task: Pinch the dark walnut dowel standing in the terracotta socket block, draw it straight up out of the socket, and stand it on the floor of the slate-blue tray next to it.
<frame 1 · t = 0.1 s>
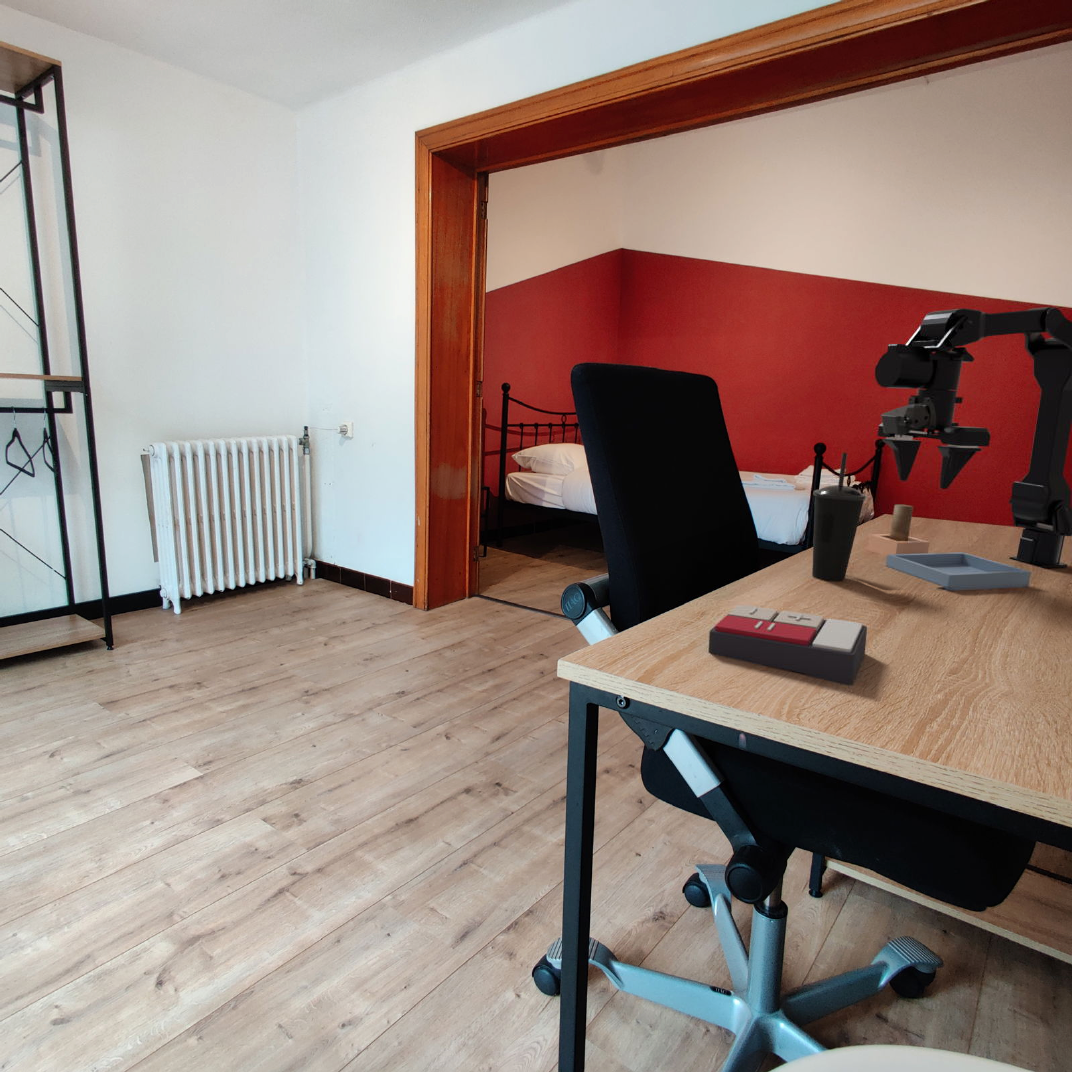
hand: (922, 484, 118), 15 cm above the table, fingers open, 9 cm apart
walnut dowel: (896, 554, 129), resting on terracotta socket
slate tray: (954, 577, 116), on the table
calculator: (786, 658, 80), on the table
drinking cup: (828, 578, 113), on the table
terracotta socket: (896, 556, 129), on the table
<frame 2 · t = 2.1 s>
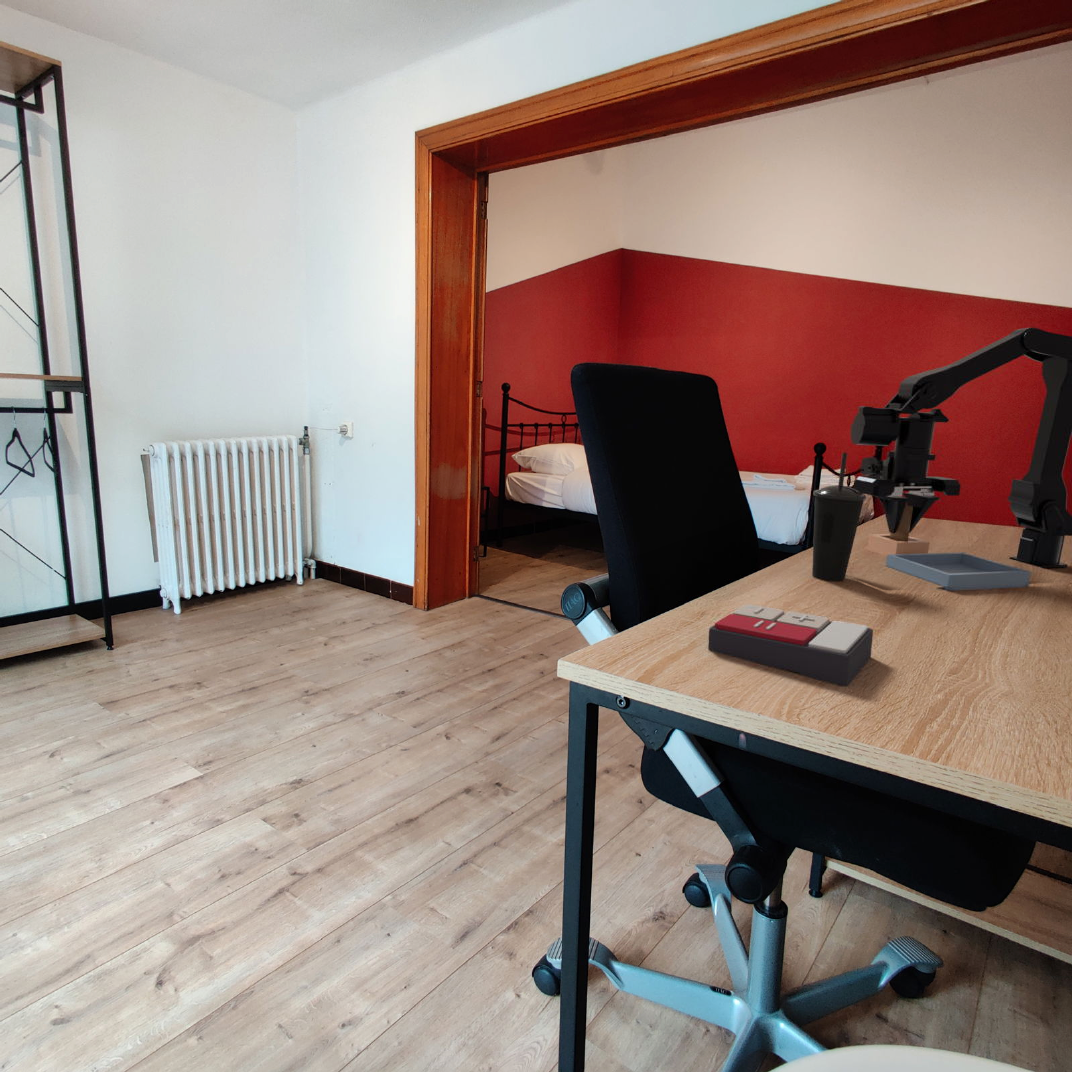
hand: (899, 532, 128), 5 cm above the table, fingers closed on walnut dowel, 3 cm apart
walnut dowel: (896, 554, 129), point 1 cm above the table, touching gripper, terracotta socket
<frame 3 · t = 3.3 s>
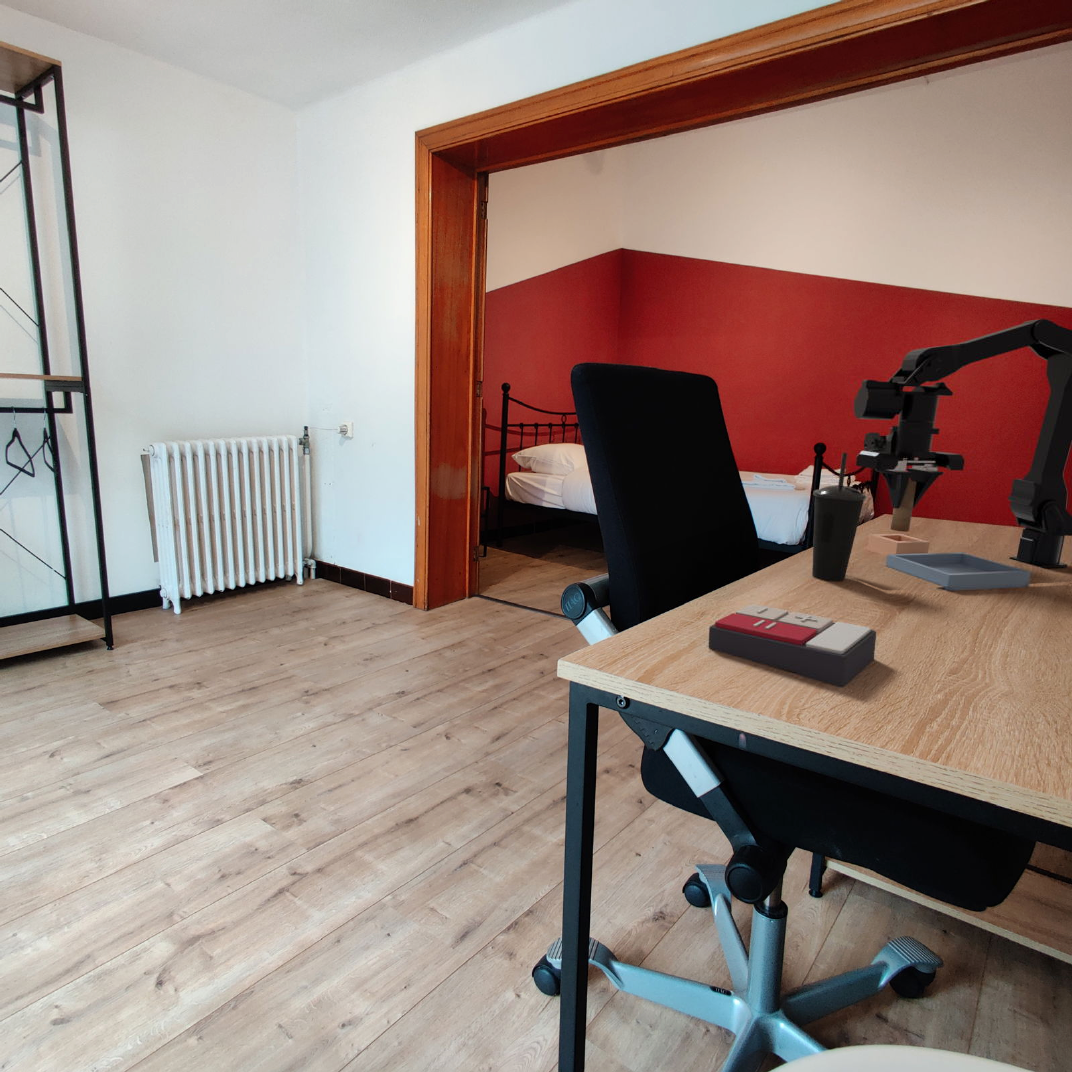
hand: (903, 508, 127), 9 cm above the table, fingers closed on walnut dowel, 3 cm apart
walnut dowel: (899, 529, 128), point 5 cm above the table, touching gripper
everything else where it was.
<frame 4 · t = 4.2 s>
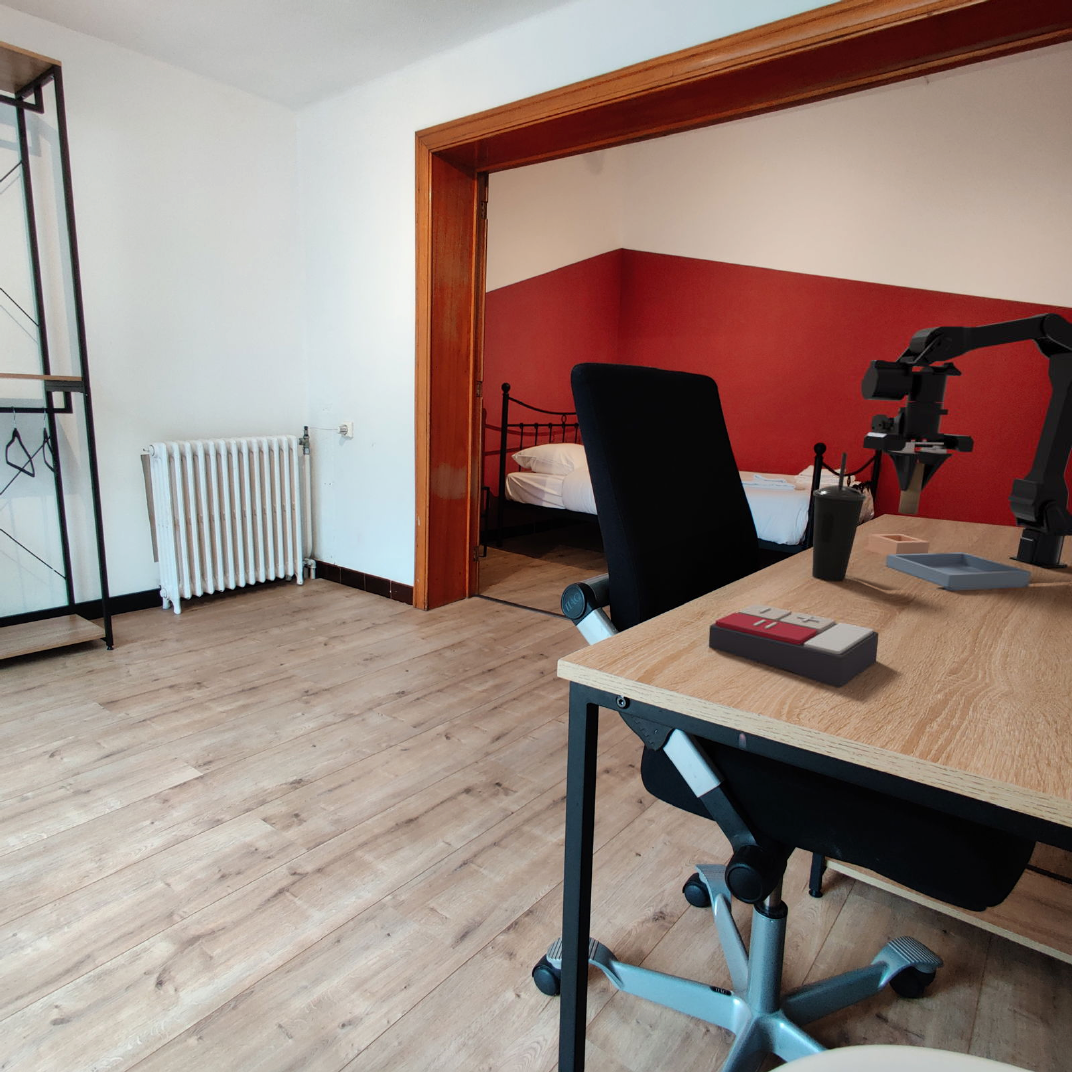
hand: (911, 490, 125), 12 cm above the table, fingers closed on walnut dowel, 3 cm apart
walnut dowel: (907, 512, 126), point 8 cm above the table, touching gripper
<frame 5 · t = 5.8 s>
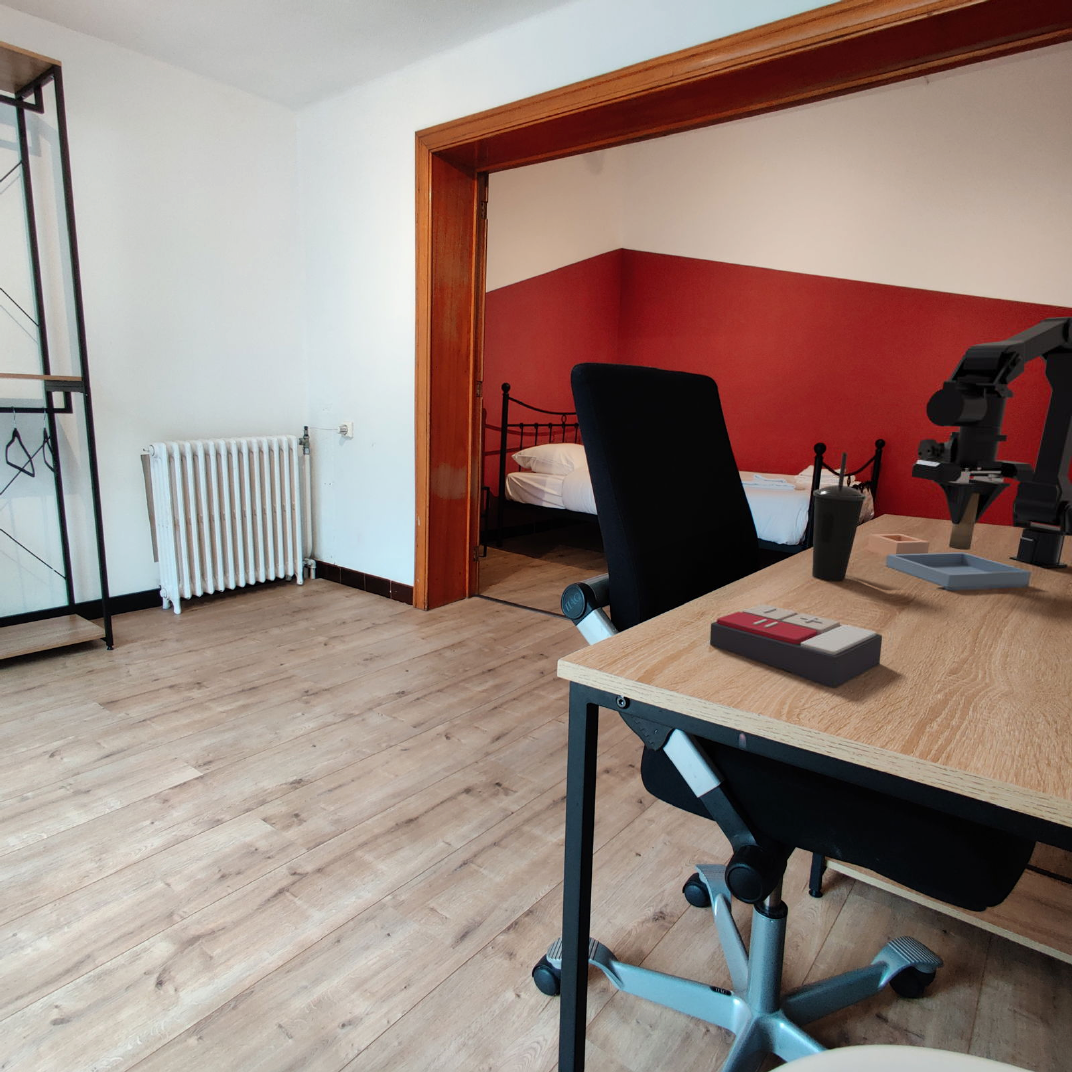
hand: (963, 523, 114), 9 cm above the table, fingers closed on walnut dowel, 3 cm apart
walnut dowel: (959, 547, 115), point 5 cm above the table, touching gripper
when the fingers open (6 cm above the table, at t = 6.7 s): walnut dowel drops 1 cm, resting on slate tray.
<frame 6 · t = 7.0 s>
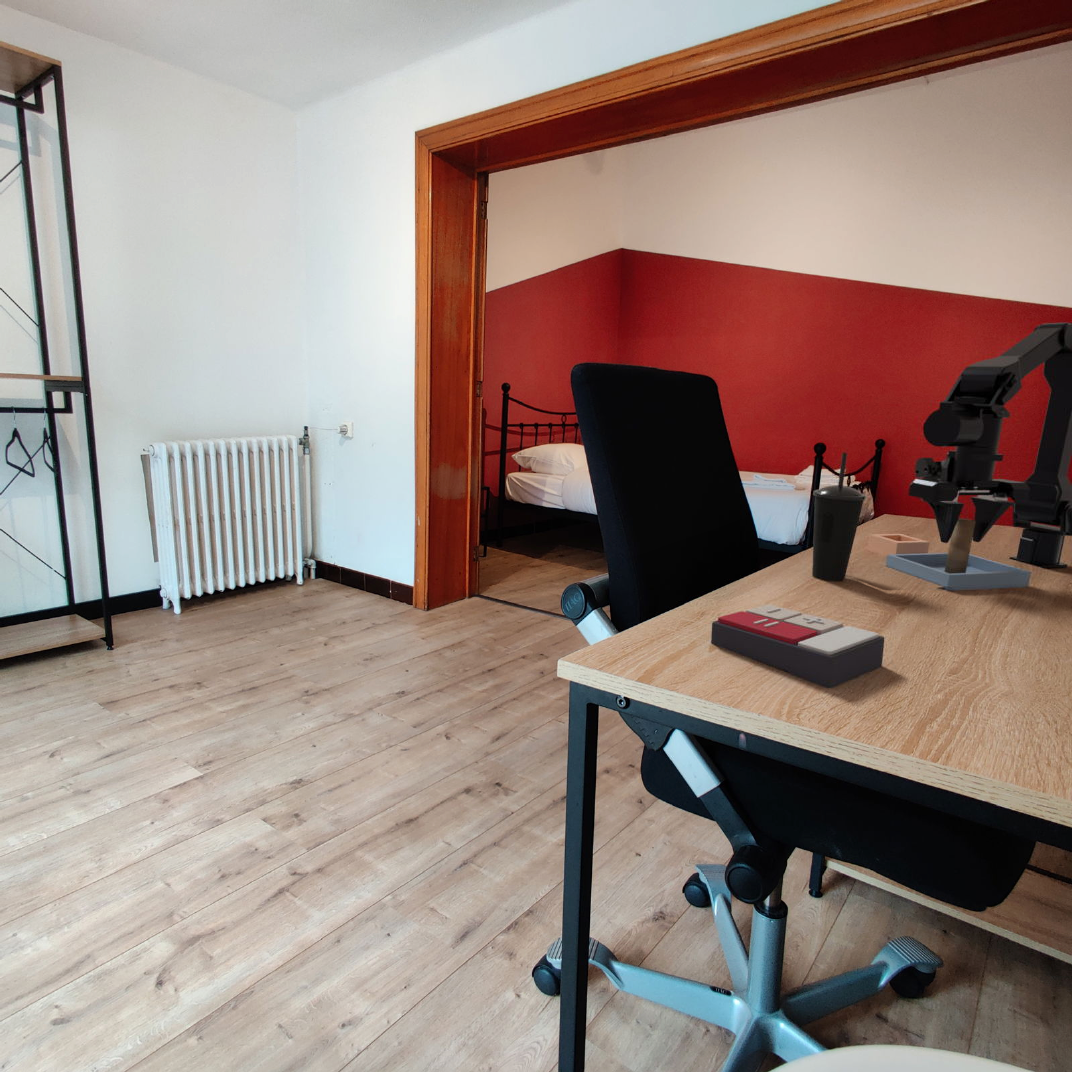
hand: (960, 542, 115), 6 cm above the table, fingers open, 6 cm apart
walnut dowel: (954, 573, 116), point 1 cm above the table, touching slate tray
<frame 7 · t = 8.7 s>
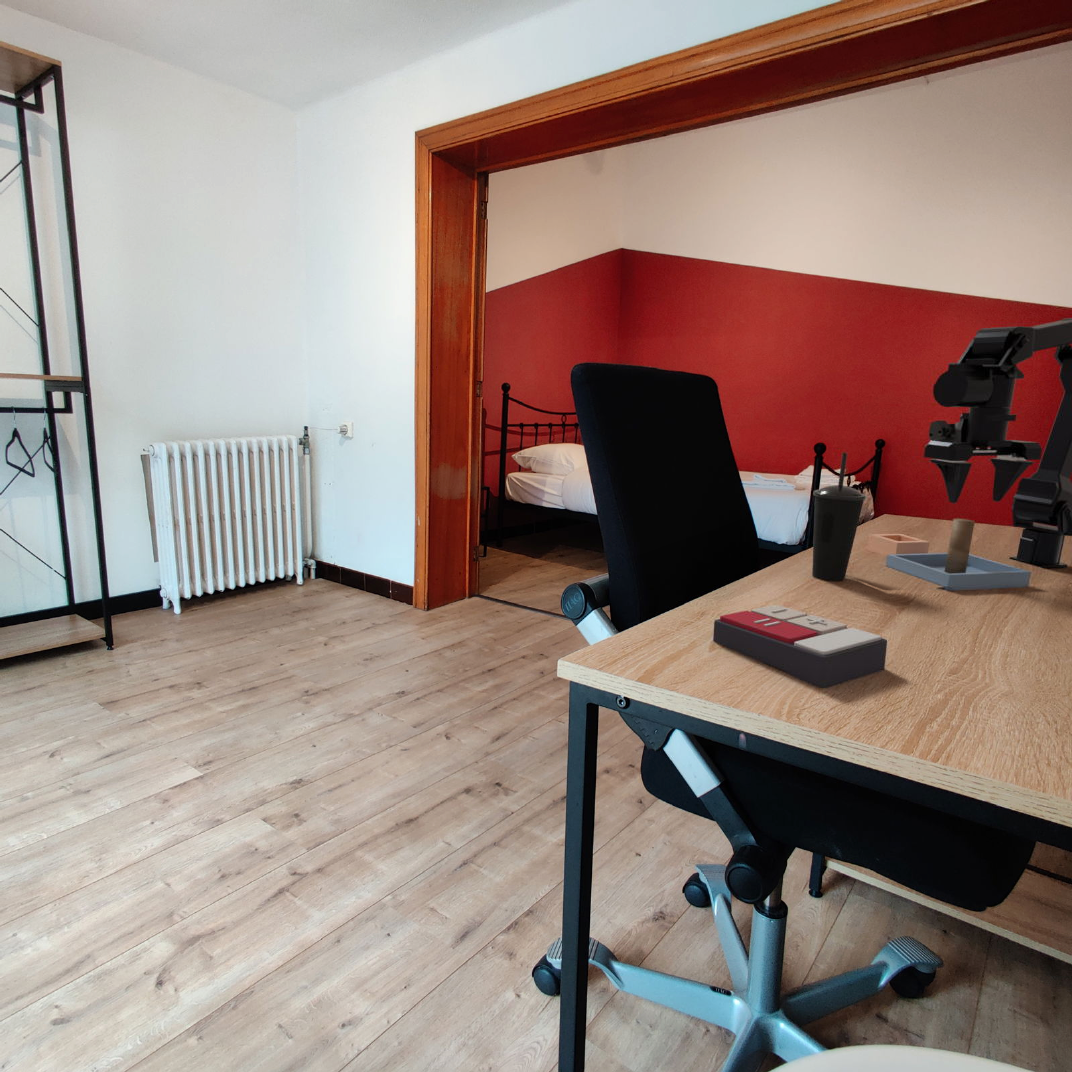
hand: (974, 502, 117), 12 cm above the table, fingers open, 9 cm apart
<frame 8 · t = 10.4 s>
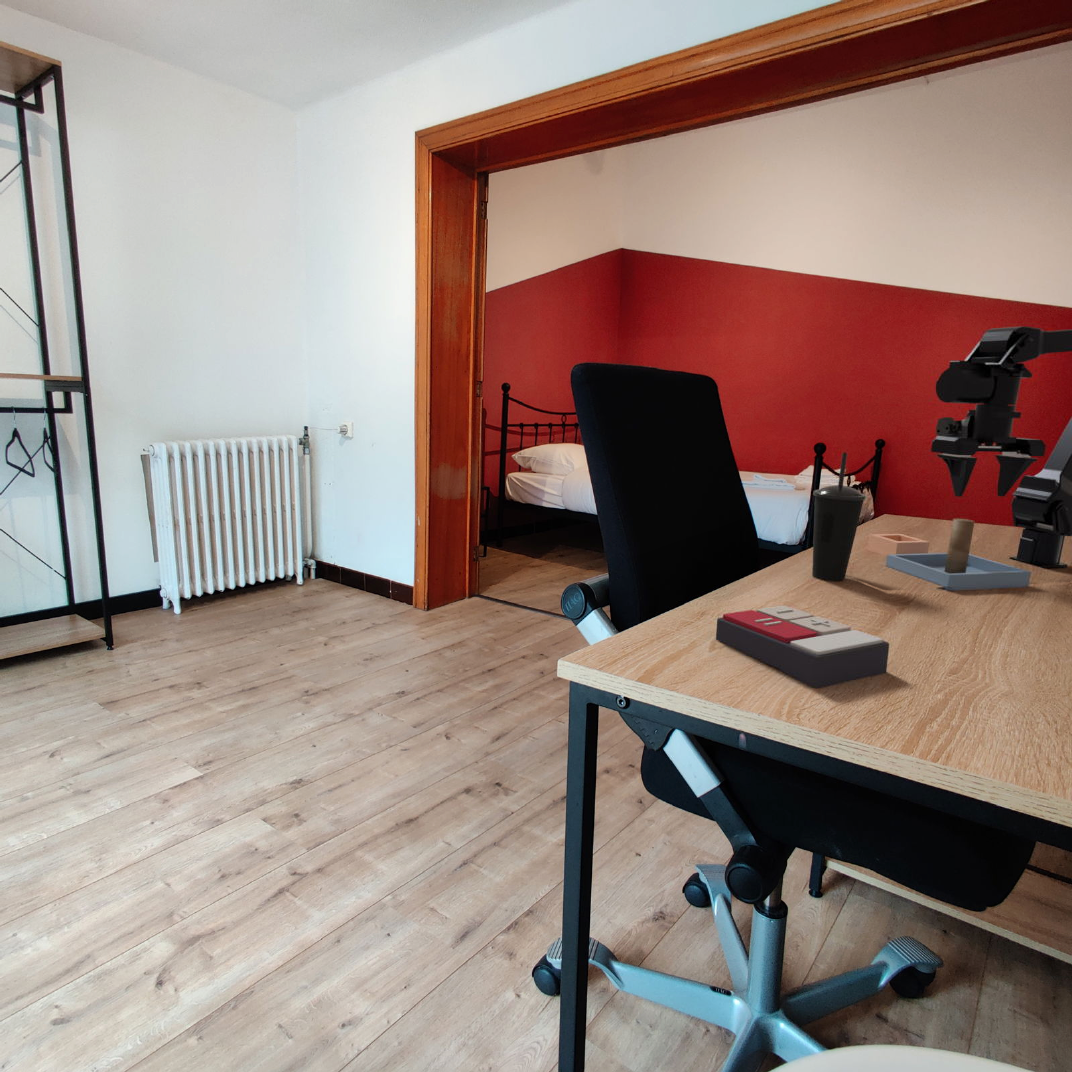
hand: (979, 496, 121), 13 cm above the table, fingers open, 9 cm apart
at the end: walnut dowel inside the target area on the slate tray (0.0 cm from its centre), point 0.6 cm above the slate tray's base; the gripper is holding nothing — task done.
